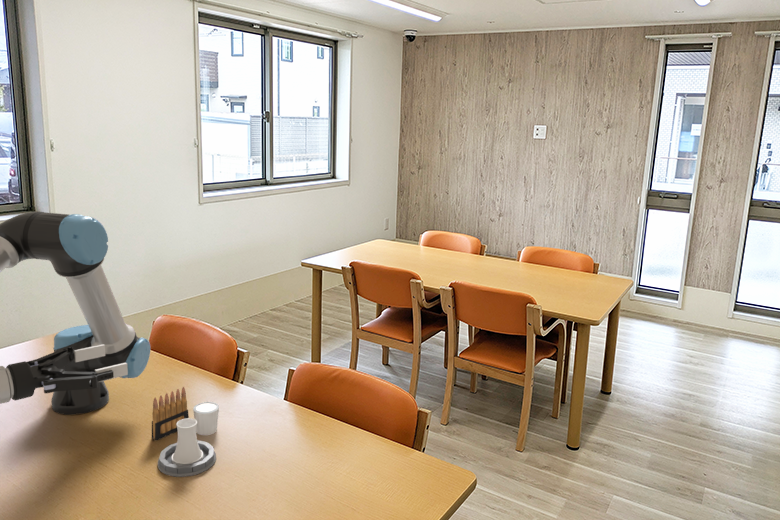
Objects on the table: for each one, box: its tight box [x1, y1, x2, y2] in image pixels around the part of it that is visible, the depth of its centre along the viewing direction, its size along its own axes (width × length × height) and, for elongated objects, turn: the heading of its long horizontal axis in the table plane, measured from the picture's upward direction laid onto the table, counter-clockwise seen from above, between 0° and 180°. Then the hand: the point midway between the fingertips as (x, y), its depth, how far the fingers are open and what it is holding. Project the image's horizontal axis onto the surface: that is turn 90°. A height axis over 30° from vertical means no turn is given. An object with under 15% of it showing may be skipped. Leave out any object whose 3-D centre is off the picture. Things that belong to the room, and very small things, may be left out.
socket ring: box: [157, 439, 217, 478], centre depth 152 cm, size 14×14×2 cm
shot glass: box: [192, 401, 220, 436], centre depth 166 cm, size 7×7×7 cm
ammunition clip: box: [151, 386, 190, 441], centre depth 164 cm, size 11×2×12 cm, turn 145°
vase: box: [172, 417, 203, 466], centre depth 150 cm, size 8×8×10 cm
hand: (115, 358), depth 138 cm, fingers open, 13 cm apart
